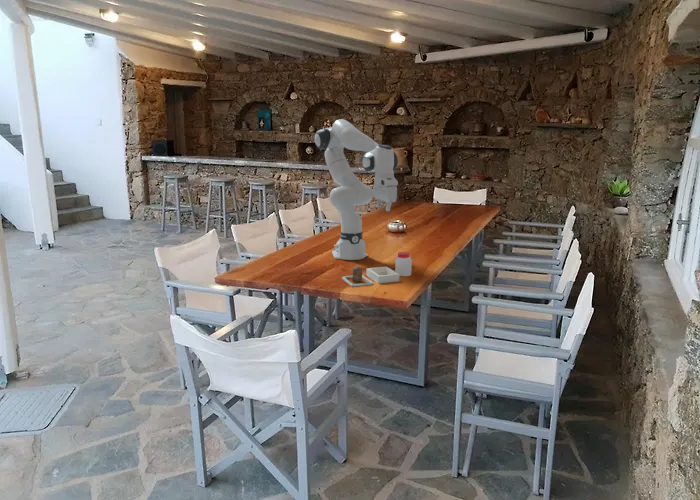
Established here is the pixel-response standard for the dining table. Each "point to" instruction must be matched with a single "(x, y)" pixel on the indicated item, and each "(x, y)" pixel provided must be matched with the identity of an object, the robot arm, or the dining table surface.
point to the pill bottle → (403, 264)
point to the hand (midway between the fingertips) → (383, 209)
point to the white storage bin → (382, 274)
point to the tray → (357, 284)
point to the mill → (357, 274)
